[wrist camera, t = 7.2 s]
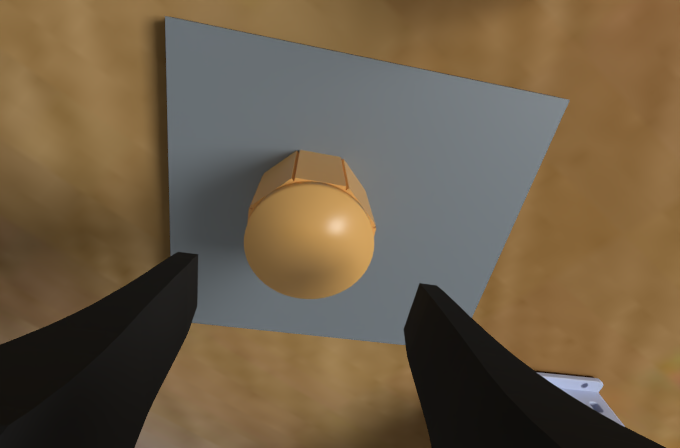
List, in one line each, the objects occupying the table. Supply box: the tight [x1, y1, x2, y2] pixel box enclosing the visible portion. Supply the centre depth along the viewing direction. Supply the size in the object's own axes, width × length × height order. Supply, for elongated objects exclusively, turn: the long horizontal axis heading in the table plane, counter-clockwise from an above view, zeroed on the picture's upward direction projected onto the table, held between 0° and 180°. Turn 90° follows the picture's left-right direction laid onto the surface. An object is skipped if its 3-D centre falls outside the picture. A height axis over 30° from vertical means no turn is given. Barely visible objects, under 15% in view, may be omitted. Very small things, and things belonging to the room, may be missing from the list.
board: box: [165, 16, 569, 345], centre depth 20 cm, size 18×16×1 cm
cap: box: [244, 150, 376, 299], centre depth 17 cm, size 5×5×4 cm
